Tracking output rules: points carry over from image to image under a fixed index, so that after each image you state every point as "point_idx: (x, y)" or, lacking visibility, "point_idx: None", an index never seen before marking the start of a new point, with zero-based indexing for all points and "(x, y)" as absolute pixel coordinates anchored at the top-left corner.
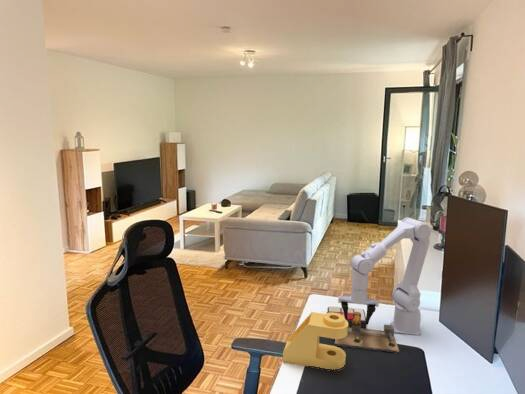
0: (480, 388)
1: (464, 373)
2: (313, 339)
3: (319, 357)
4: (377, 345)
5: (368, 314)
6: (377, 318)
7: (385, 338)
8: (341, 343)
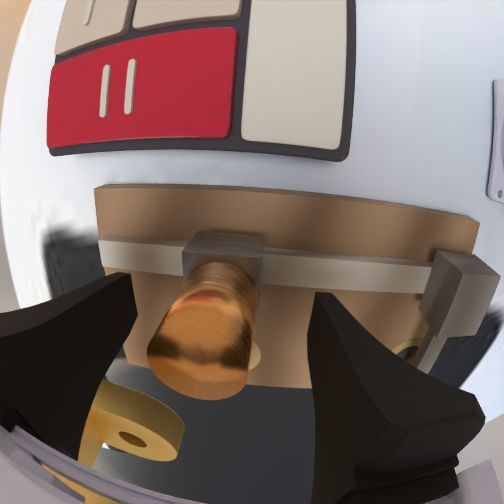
0: None
1: (500, 394)
2: None
3: (109, 442)
4: None
5: (318, 439)
6: (431, 11)
7: (411, 306)
8: None
